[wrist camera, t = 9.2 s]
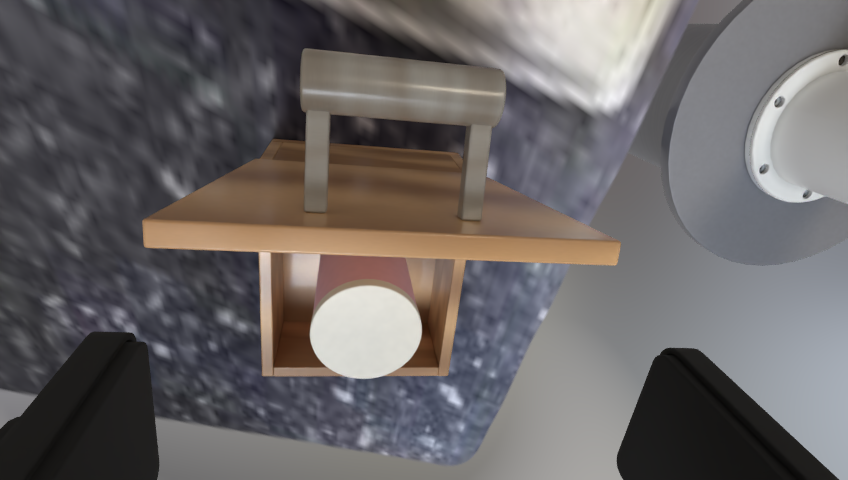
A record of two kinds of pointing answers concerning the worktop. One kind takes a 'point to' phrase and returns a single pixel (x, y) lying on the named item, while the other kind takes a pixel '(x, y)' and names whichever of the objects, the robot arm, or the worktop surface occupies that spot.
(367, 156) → the chest
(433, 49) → the worktop surface
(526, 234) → the lid
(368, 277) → the tube
